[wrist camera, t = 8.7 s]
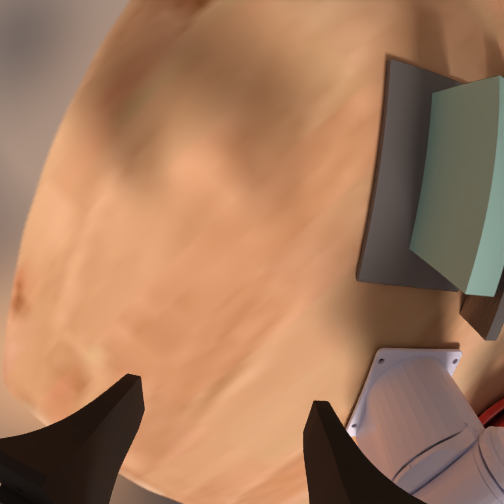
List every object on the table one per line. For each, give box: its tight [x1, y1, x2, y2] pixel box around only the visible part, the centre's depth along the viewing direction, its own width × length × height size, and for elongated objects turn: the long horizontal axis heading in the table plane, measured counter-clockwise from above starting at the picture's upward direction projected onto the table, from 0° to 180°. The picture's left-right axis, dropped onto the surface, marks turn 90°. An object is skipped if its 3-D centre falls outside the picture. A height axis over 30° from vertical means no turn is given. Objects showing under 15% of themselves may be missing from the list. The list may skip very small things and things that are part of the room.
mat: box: [356, 59, 463, 292], centre depth 18 cm, size 14×8×1 cm, turn 173°
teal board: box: [409, 75, 504, 297], centre depth 14 cm, size 2×10×7 cm, turn 173°
